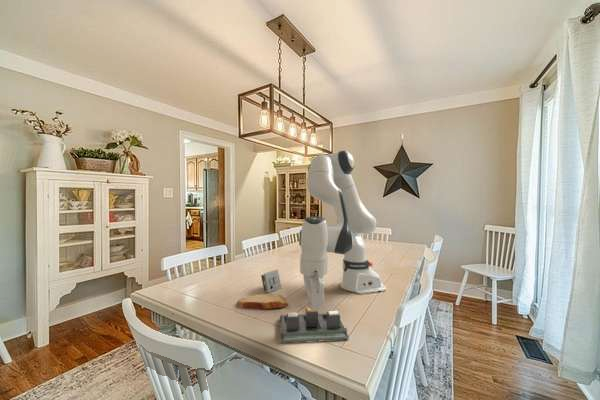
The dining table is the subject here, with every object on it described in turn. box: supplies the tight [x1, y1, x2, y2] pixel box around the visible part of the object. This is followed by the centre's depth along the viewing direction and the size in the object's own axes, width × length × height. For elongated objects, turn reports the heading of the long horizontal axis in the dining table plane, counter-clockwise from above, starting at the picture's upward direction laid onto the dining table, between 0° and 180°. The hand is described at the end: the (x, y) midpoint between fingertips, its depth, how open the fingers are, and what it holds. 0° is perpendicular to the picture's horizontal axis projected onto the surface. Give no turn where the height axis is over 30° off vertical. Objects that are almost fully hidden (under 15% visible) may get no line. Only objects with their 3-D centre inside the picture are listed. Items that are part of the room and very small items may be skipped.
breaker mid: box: [305, 307, 319, 327], centre depth 85 cm, size 4×3×6 cm
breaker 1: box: [286, 312, 299, 331], centre depth 81 cm, size 4×3×6 cm
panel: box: [279, 312, 349, 344], centre depth 85 cm, size 22×15×2 cm
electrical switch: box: [260, 269, 282, 294], centre depth 121 cm, size 9×5×9 cm, turn 141°
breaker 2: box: [326, 310, 341, 329], centre depth 83 cm, size 4×3×6 cm
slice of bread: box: [235, 293, 289, 310], centre depth 104 cm, size 18×18×4 cm
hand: (312, 309), depth 78 cm, fingers closed
